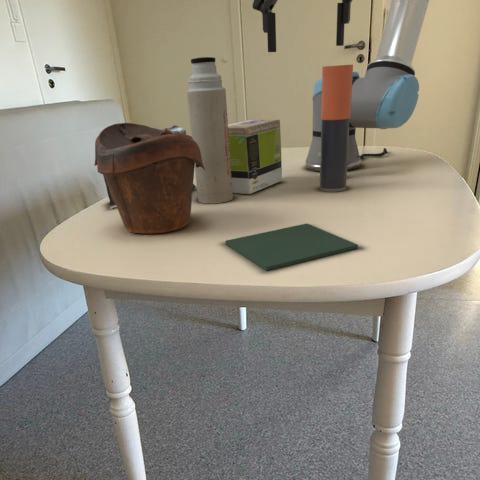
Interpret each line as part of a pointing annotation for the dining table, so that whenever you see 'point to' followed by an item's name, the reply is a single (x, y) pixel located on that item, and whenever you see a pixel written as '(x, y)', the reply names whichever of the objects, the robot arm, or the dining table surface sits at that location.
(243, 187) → the tea box
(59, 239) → the dining table surface
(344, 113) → the orange cylinder
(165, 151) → the brown tapered pot
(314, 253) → the mat
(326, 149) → the dark grey cylinder
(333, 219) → the dining table surface
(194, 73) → the thermos bottle
